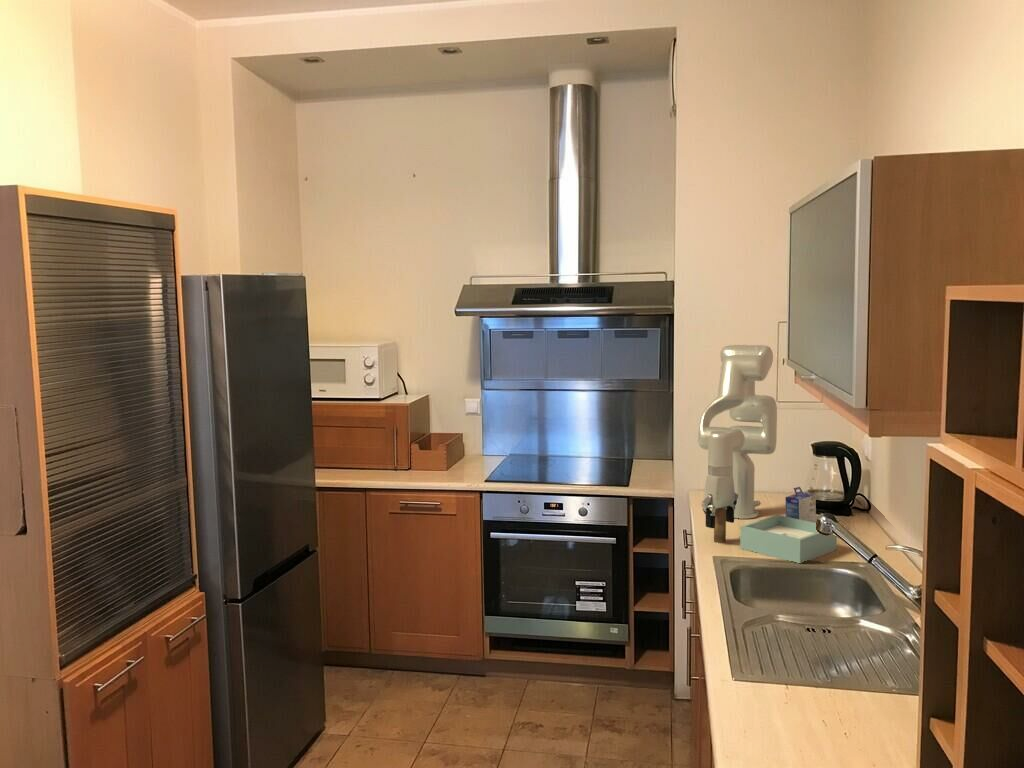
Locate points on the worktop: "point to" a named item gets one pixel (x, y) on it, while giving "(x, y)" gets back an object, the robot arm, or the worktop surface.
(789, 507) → the ink cartridge box
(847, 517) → the worktop surface
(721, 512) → the peg
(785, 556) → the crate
